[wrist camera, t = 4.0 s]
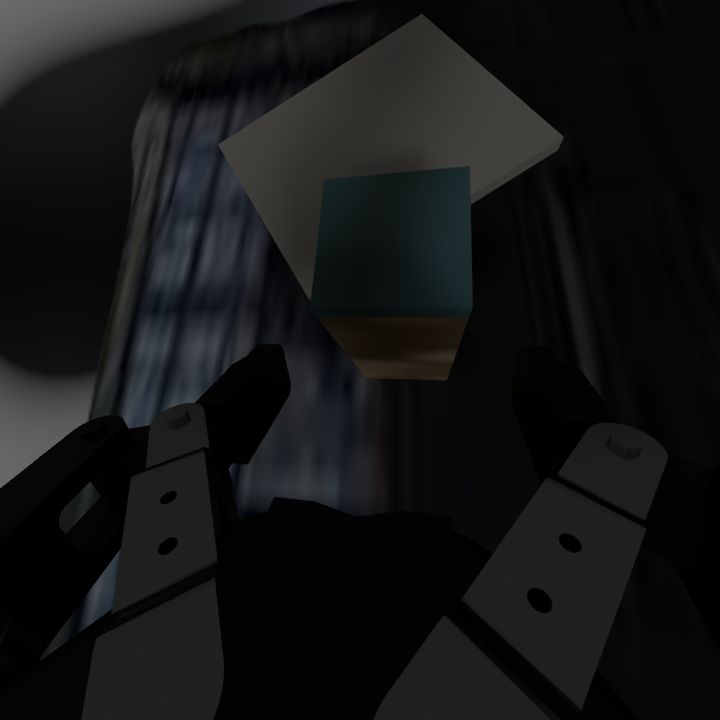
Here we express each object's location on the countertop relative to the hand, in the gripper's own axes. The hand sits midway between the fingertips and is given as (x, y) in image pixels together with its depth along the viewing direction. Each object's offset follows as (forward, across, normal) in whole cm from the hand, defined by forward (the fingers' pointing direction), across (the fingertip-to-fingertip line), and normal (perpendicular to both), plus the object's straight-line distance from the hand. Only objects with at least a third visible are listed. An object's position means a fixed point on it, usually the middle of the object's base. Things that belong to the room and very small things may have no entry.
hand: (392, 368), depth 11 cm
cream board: (+20, +3, -7) cm, 22 cm away
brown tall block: (+9, 0, +4) cm, 10 cm away
